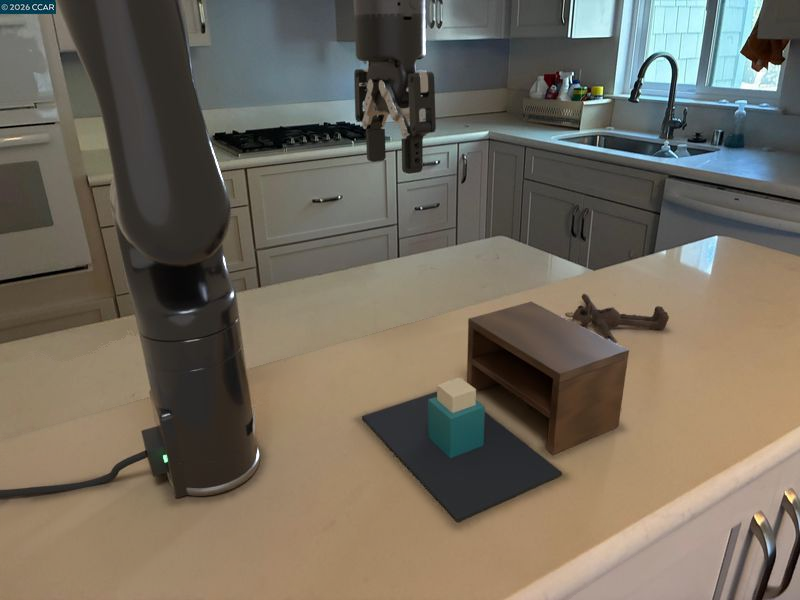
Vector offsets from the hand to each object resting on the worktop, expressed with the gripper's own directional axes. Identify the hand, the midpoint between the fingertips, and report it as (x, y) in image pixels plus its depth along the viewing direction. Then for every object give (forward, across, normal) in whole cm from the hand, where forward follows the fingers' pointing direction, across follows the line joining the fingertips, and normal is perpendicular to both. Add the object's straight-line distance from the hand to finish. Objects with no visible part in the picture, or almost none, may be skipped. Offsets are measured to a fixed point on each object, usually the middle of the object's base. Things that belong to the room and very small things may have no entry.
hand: (393, 166), depth 71 cm
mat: (+28, +16, -2) cm, 32 cm away
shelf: (+28, +15, +11) cm, 34 cm away
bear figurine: (+28, +4, +36) cm, 46 cm away
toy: (+28, +16, -2) cm, 32 cm away
